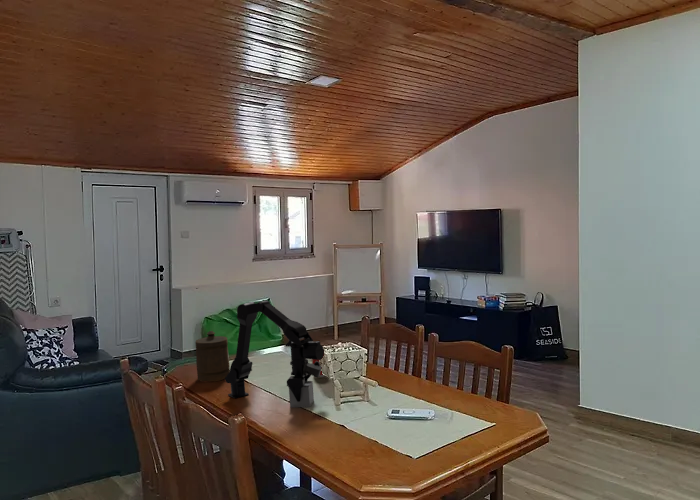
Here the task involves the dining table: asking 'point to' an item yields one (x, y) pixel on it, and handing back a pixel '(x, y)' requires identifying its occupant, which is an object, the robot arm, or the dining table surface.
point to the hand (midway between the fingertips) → (301, 397)
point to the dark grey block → (303, 396)
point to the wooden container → (212, 358)
